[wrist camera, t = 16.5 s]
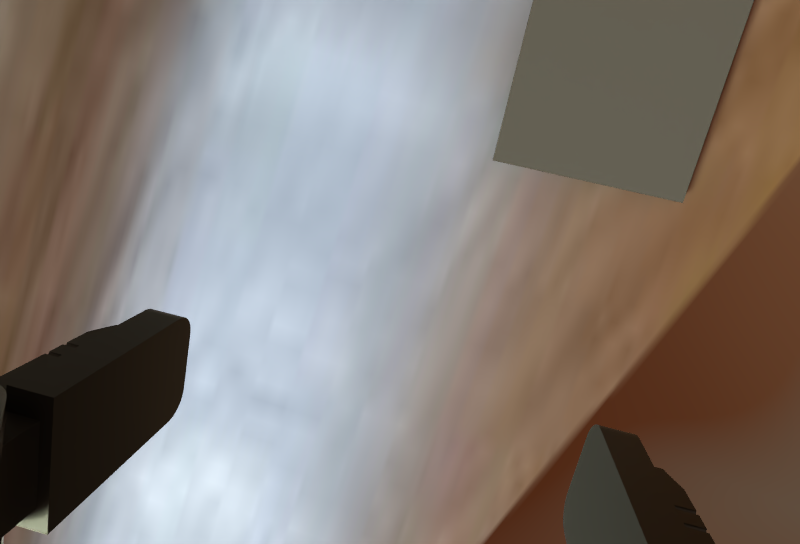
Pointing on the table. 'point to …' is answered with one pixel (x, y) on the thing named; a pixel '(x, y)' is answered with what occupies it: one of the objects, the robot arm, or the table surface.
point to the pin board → (620, 89)
